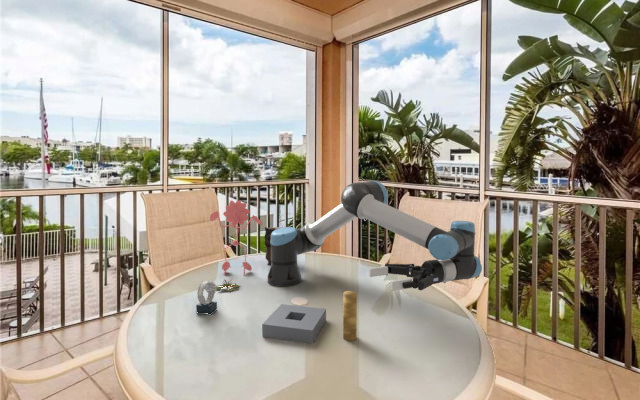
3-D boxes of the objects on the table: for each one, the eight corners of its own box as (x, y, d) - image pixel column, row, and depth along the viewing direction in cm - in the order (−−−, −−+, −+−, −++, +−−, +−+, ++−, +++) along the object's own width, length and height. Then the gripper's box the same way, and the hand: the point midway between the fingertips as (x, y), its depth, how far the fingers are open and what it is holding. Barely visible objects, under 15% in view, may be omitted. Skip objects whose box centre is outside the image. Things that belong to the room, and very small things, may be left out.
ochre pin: (342, 340, 107) (342, 295, 105) (344, 334, 110) (344, 290, 109) (355, 342, 105) (355, 296, 104) (357, 335, 109) (357, 291, 108)
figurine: (261, 276, 166) (259, 201, 164) (207, 275, 168) (204, 201, 165) (268, 267, 182) (266, 198, 179) (218, 266, 183) (216, 199, 180)
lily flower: (211, 286, 154) (210, 276, 154) (239, 283, 159) (238, 273, 158) (214, 296, 143) (214, 285, 143) (244, 292, 148) (244, 281, 148)
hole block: (262, 336, 109) (262, 324, 109) (281, 315, 124) (281, 303, 124) (312, 343, 105) (312, 330, 104) (326, 320, 120) (326, 308, 120)
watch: (219, 307, 131) (218, 278, 130) (207, 317, 123) (206, 286, 122) (206, 306, 132) (204, 277, 131) (193, 315, 124) (192, 284, 123)
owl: (295, 264, 185) (294, 226, 183) (273, 269, 178) (272, 229, 176) (283, 259, 195) (282, 223, 193) (262, 263, 188) (261, 225, 186)
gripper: (464, 295, 105) (402, 305, 98) (415, 271, 128) (361, 278, 121) (465, 270, 104) (402, 279, 97) (415, 251, 128) (361, 257, 120)
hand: (379, 278), depth 109 cm, fingers open, 13 cm apart
